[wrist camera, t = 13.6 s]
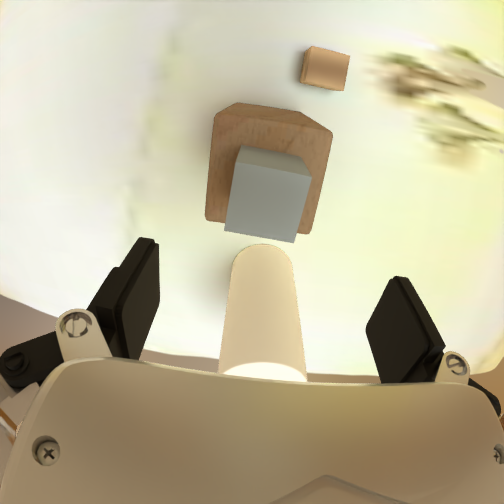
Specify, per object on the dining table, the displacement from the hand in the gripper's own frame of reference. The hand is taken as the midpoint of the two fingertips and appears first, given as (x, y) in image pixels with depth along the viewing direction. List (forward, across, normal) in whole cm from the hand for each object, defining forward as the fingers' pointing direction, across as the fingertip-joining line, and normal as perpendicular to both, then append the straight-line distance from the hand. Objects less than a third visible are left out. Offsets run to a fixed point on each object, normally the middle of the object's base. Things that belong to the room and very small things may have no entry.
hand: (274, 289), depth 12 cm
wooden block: (+36, 0, +1) cm, 36 cm away
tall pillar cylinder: (+36, -4, +23) cm, 43 cm away
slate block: (+16, 0, +1) cm, 16 cm away
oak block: (+36, -6, -11) cm, 38 cm away
